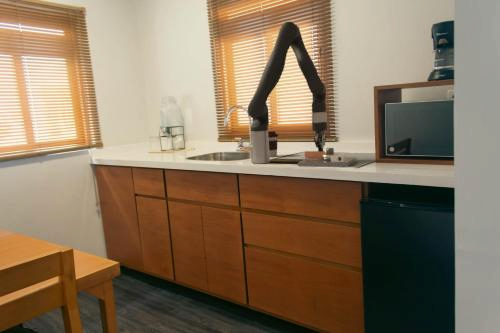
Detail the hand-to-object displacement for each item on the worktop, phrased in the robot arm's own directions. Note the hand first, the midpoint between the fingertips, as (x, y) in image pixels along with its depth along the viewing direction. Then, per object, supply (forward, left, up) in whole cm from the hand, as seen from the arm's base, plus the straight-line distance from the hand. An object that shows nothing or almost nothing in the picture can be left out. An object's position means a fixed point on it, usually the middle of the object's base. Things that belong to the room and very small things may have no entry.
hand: (320, 155), depth 204 cm
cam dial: (+2, -6, -1) cm, 7 cm away
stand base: (+6, -8, -3) cm, 10 cm away
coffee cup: (-38, +19, -4) cm, 42 cm away
